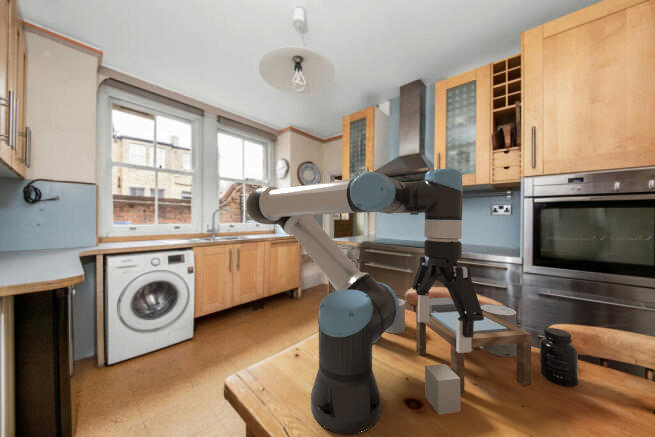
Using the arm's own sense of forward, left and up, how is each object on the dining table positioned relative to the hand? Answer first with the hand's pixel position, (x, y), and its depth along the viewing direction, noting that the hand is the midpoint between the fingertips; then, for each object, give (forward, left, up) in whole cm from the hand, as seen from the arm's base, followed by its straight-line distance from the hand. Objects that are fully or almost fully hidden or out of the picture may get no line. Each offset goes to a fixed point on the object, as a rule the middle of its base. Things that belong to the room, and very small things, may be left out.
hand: (441, 334), depth 53 cm
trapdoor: (+15, +15, -5) cm, 21 cm away
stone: (0, -1, -15) cm, 15 cm away
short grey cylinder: (+31, +17, -15) cm, 38 cm away
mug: (+5, +36, -15) cm, 39 cm away
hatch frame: (+15, +10, -15) cm, 23 cm away
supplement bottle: (+34, +2, -15) cm, 37 cm away
